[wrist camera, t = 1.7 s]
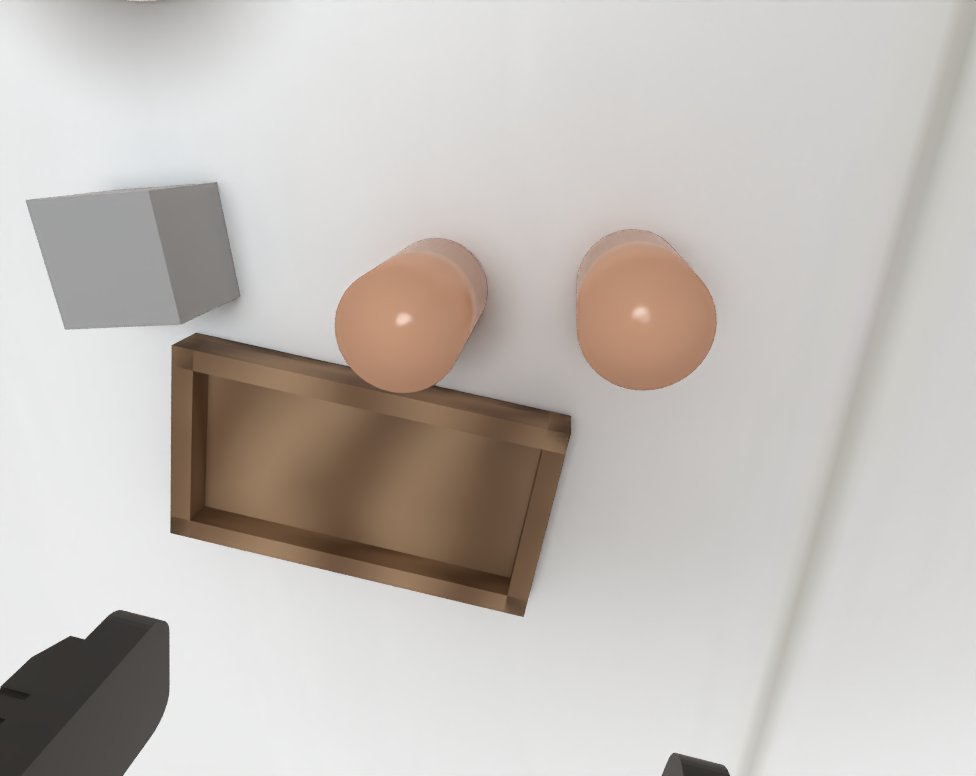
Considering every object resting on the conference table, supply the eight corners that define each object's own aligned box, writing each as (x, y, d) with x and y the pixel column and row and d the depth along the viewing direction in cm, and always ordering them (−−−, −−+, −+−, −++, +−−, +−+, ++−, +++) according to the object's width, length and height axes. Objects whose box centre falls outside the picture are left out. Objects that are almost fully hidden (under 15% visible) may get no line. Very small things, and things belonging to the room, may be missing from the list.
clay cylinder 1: (496, 249, 28) (472, 282, 21) (477, 346, 30) (450, 404, 23) (395, 228, 28) (341, 255, 22) (382, 326, 30) (329, 378, 23)
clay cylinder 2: (697, 241, 27) (735, 274, 20) (666, 342, 28) (692, 403, 22) (590, 219, 27) (595, 244, 21) (566, 321, 29) (563, 374, 22)
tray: (571, 416, 30) (570, 434, 28) (526, 590, 34) (523, 617, 32) (196, 333, 31) (171, 345, 29) (192, 511, 35) (170, 532, 33)
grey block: (217, 182, 29) (148, 190, 24) (241, 296, 30) (180, 324, 26) (112, 190, 29) (25, 200, 25) (141, 300, 31) (65, 329, 26)
